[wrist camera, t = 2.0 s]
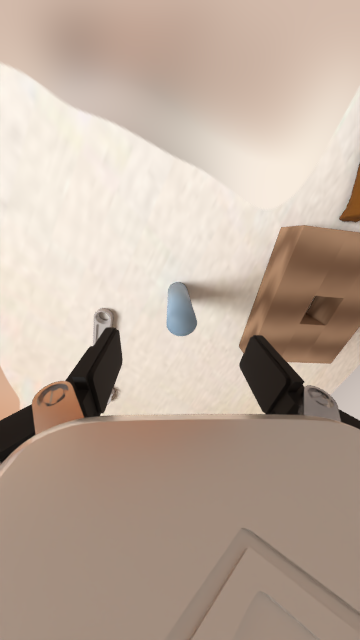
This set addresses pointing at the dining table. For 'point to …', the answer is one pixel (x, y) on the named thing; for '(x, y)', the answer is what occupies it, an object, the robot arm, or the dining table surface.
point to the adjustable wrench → (99, 328)
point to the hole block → (308, 294)
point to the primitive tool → (353, 203)
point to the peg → (180, 311)
